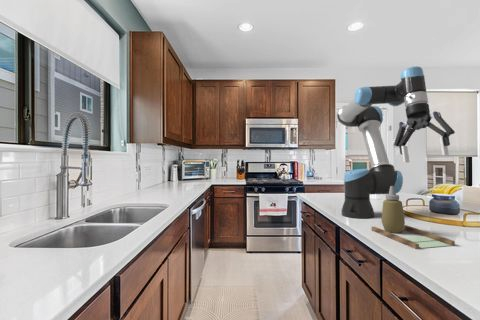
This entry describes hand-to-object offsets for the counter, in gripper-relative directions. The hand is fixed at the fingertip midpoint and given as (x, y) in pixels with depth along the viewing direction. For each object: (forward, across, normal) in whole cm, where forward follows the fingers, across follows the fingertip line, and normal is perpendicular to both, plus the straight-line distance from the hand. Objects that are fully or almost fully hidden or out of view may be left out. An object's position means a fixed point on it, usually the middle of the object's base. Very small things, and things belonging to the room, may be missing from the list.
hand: (424, 159), depth 97 cm
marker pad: (+30, -1, -7) cm, 30 cm away
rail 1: (+29, -9, -11) cm, 32 cm away
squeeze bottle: (+27, -14, -2) cm, 31 cm away
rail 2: (+28, -5, +1) cm, 29 cm away
